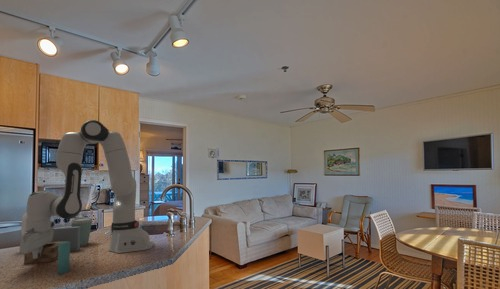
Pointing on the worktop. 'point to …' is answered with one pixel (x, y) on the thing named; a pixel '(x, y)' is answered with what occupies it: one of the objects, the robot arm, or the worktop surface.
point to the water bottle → (24, 223)
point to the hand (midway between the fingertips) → (36, 257)
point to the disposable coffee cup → (83, 228)
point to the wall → (68, 236)
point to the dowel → (63, 257)
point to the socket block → (44, 253)
